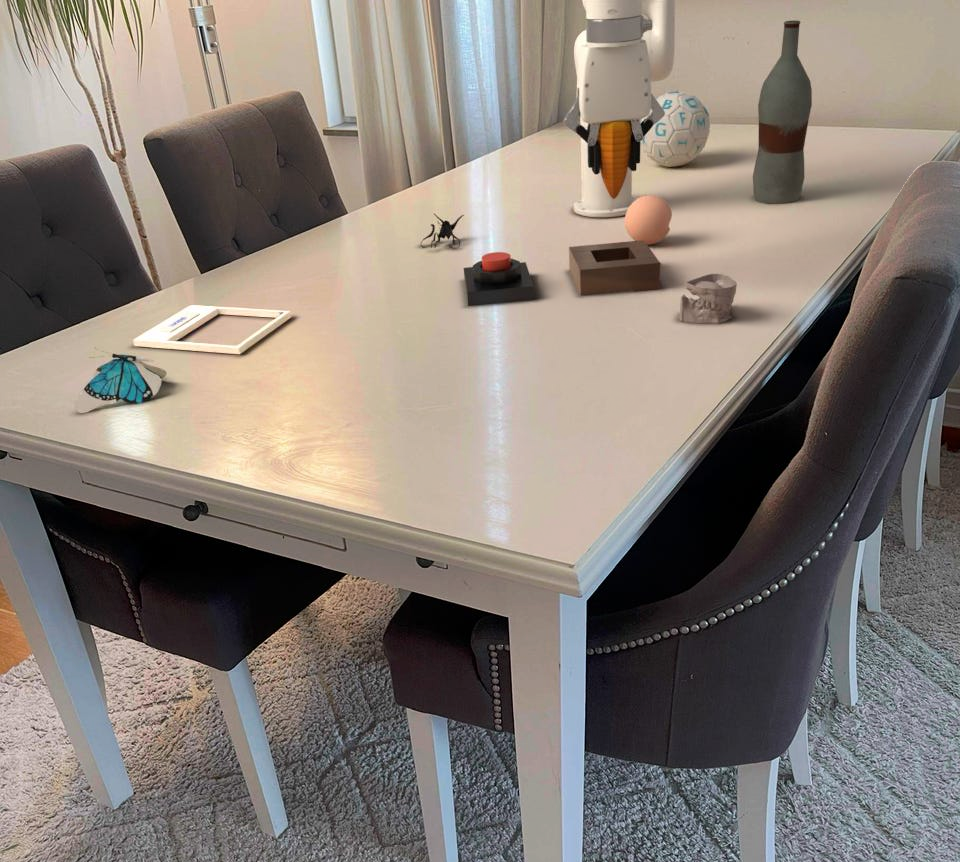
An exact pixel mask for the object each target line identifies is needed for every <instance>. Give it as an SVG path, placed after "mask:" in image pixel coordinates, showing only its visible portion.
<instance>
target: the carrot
mask: <svg viewBox="0 0 960 862" xmlns="http://www.w3.org/2000/svg"><path fill="white" fill-rule="evenodd" d="M597 141H598V145H599V146H600V171H601V176H602V179H603V182H604V184H605V187H606V189H607V191H608V193H609V195H610V196H611V197H612V198H613V199H615V198H616V197H617V196H618V194H619V192H620V190H621V188H622V186H623V183H624V181H625V178H626V174H627V169H628V164H629V158H630V148H631V123H630V121H611V122H607V123H600V127H599V131H598V136H597Z"/></svg>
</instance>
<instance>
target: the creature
mask: <svg viewBox="0 0 960 862" xmlns="http://www.w3.org/2000/svg"><path fill="white" fill-rule="evenodd" d="M433 215H434V216H435V217H436V219H438V220H439V221H440V222H441V223H440V222H439V221H438V220H436V222H437V224H438V225H440V226H439V228H438V229H439V232H435V229H436V227H435V224H433V223H431V224H430V226H431V227H432V229H431V232H430V233H429V234H428V235H427V236H425V237H424V238H423V239H422V240H421V241H420V247H422V248H427V247H430V248H431V249H432V248H433V244H434V249H436V248H437V243H440V242H441V238H442V239H446V238H447V240H449V239H450V238H452V245H454V244H456V243H455V240H457V242H458V246H457V247H455V248H454V247H452V245H448V247H450V249H452V250H456V249H458V248H459V247H460V246H461V241H460V239H459V237H457V236H456V235H455V234H454V232H453V231H454V230H455V228H456V227H457V225H458V222H459V221H460V219H462V218H463V217H464V216H465V214H461V215H460V216H459V217H458V218H457V219H456V220H455V221H454V223H452V224H451V223H450V221H448V220H443V219H441V218H440V217H439V216H438V215H437V214H436V213H433ZM431 237H433V239H432V240H431V244H429V245H425V246H424V245H422V243H423V241H424V240H427V239H428V238H429V239H430V238H431ZM436 237H437V240H436Z"/></svg>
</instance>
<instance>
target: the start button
mask: <svg viewBox="0 0 960 862" xmlns="http://www.w3.org/2000/svg"><path fill="white" fill-rule="evenodd" d="M511 259H512V258H511V254H510V253H508V252H503V251H495V252H489V253H485V254H484V255H482V256H481V261H482V269H484V270H491V271H495V270H504V269H507V268H510V267H511Z"/></svg>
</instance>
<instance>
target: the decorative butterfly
mask: <svg viewBox="0 0 960 862" xmlns="http://www.w3.org/2000/svg"><path fill="white" fill-rule="evenodd" d="M94 349H96V350H97V351H99V349H98V348H96V347H94ZM102 352H103V353H107V354H110V355H111V357H112V358H113V359H111V360H109V361H108V362H107V363H104V364H102V365H100V366H99V367H97V368H96V369H95V371H94V372H93V374H92V377H93V378H92V379H90V380H89V382H88V383H87V384H86V385H85V386H84V388H83V389H82V390H81V392H80V393H79V395H78V396H77V398H76V400H75V402H74V409H75V411H76V412H78V413H80V414H84V413H85V414H86V413H89V412H91V411H93V410H95V409H97V408H100V407H101V406H105V405H114V404H117V403H118V402H120V400H121V401H123V402H125V403H128V404H140V403H145V402H148V401H150V400H152V399H153V398H154V397H155V396H156V395H157V394H158V392H159V391H160V388H161V386H162V379H164V378H165V377H166V376H167V374H168V373H167V371H166V370H165V369H164V368H161V367H157V366H154V365H151V364H147V363H146V362H152V363H153V362H154V359H149V358H145V357H141V356H137V355H130V354H117V353H110V352H108V351H103V350H102ZM101 357H104V355H103V356H100V358H101ZM93 358H96V357H95V356H92V357H90V359H93Z"/></svg>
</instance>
